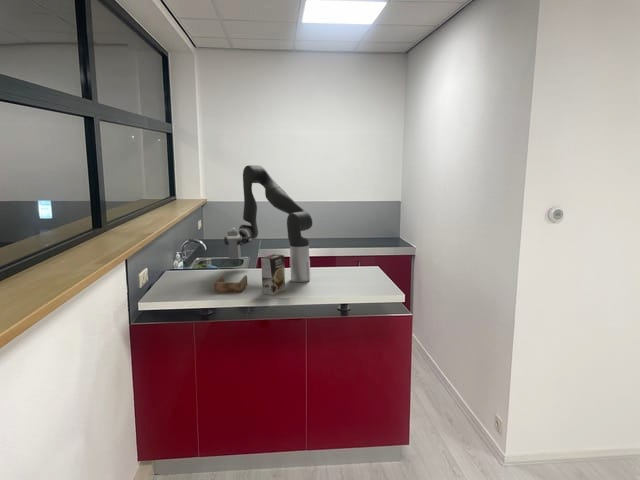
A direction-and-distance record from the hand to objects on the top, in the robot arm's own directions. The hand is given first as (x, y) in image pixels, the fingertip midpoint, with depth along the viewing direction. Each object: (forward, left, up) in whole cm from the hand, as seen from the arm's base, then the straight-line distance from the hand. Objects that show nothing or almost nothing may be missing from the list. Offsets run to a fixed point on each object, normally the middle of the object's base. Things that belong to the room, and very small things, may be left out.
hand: (232, 243), depth 210 cm
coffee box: (-21, +13, -20) cm, 32 cm away
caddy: (0, +8, -20) cm, 21 cm away
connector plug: (0, -3, -7) cm, 8 cm away
